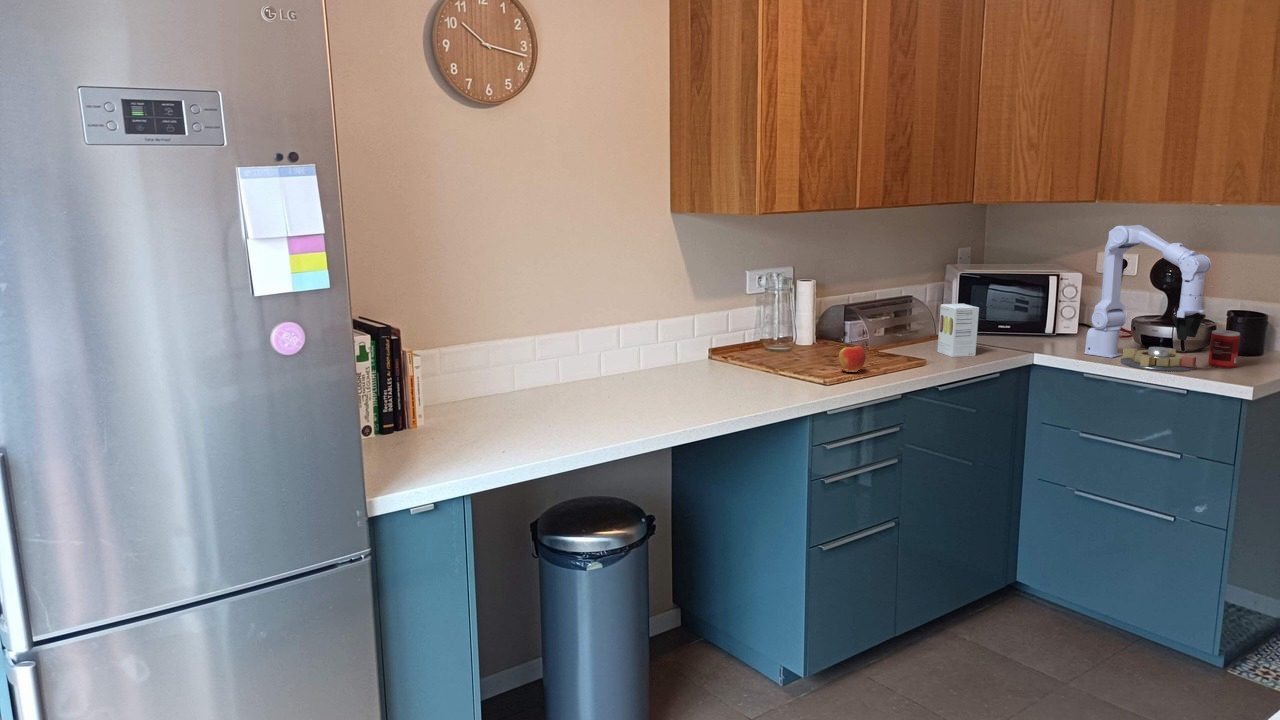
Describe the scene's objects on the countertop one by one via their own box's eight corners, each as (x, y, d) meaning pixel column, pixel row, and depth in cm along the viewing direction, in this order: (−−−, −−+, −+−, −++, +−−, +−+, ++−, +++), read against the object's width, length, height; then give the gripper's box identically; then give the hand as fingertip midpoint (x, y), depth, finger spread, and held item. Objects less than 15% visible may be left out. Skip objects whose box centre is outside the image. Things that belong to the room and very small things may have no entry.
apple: (845, 376, 279) (846, 344, 277) (833, 370, 286) (835, 339, 284) (869, 374, 280) (870, 342, 278) (857, 369, 288) (858, 338, 286)
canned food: (1227, 363, 294) (1232, 330, 292) (1241, 368, 286) (1245, 334, 284) (1202, 363, 295) (1206, 329, 292) (1215, 368, 287) (1219, 334, 285)
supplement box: (936, 352, 315) (939, 303, 311) (959, 350, 317) (963, 302, 314) (952, 357, 306) (955, 307, 302) (976, 356, 308) (979, 306, 305)
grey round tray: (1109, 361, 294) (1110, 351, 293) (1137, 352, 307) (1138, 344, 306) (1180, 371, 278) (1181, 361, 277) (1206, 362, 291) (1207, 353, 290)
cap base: (1109, 364, 294) (1111, 348, 293) (1139, 355, 308) (1141, 339, 307) (1180, 374, 278) (1182, 357, 277) (1208, 364, 292) (1210, 348, 291)
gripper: (1197, 298, 270) (1191, 343, 273) (1214, 293, 279) (1209, 337, 282) (1171, 295, 276) (1166, 339, 278) (1189, 291, 285) (1184, 334, 287)
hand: (1186, 338), depth 281 cm, fingers open, 7 cm apart
